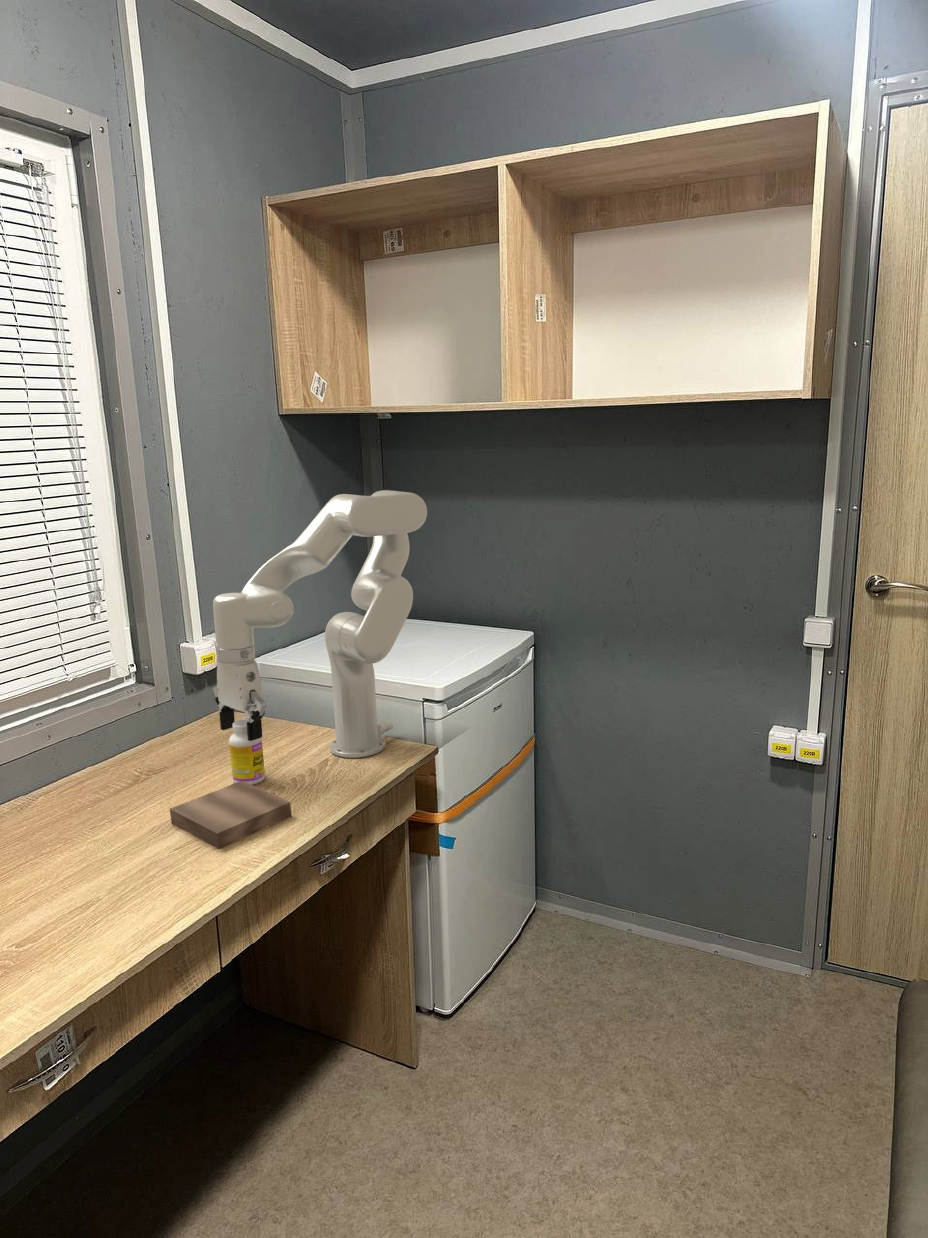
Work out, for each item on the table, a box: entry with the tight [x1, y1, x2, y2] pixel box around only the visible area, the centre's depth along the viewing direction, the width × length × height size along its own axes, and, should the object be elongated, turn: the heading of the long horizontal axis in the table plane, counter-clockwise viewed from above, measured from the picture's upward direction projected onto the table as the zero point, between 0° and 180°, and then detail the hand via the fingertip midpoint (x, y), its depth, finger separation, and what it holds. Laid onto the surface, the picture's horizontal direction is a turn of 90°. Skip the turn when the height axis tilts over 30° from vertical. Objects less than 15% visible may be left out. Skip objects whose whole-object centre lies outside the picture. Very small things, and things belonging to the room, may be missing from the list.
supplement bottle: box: [228, 718, 266, 786], centre depth 182 cm, size 7×7×13 cm
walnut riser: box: [169, 781, 292, 850], centre depth 166 cm, size 16×16×3 cm
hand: (241, 733), depth 181 cm, fingers open, 9 cm apart
